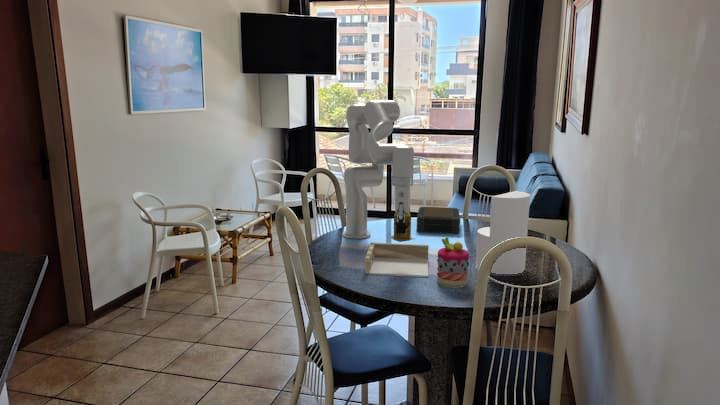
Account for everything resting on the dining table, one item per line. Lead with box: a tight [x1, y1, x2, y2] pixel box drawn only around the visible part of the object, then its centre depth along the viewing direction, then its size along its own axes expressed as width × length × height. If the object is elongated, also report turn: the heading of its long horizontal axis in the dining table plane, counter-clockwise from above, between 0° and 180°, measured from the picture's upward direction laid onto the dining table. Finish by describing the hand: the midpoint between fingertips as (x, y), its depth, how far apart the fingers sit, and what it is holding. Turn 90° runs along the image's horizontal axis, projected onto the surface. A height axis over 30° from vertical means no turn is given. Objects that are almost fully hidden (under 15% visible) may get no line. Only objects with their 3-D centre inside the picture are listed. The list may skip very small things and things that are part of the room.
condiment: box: [387, 211, 416, 243], centre depth 184 cm, size 7×8×12 cm
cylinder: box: [475, 190, 531, 274], centre depth 184 cm, size 17×17×28 cm
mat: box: [365, 257, 429, 278], centre depth 189 cm, size 20×22×1 cm
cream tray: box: [364, 242, 429, 275], centre depth 188 cm, size 20×22×6 cm
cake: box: [436, 237, 470, 288], centre depth 171 cm, size 10×11×15 cm
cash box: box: [416, 206, 461, 235], centre depth 249 cm, size 25×20×8 cm
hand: (401, 230), depth 184 cm, fingers closed on condiment, 6 cm apart
